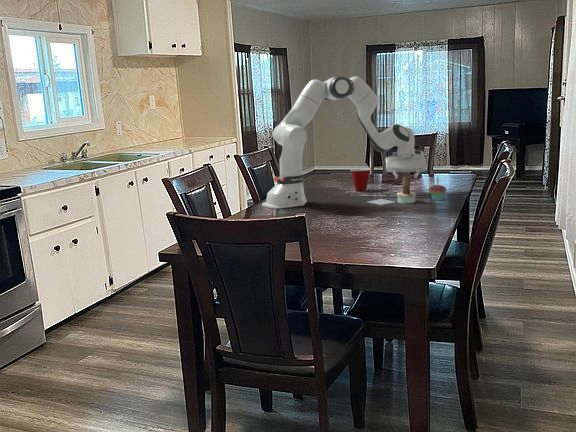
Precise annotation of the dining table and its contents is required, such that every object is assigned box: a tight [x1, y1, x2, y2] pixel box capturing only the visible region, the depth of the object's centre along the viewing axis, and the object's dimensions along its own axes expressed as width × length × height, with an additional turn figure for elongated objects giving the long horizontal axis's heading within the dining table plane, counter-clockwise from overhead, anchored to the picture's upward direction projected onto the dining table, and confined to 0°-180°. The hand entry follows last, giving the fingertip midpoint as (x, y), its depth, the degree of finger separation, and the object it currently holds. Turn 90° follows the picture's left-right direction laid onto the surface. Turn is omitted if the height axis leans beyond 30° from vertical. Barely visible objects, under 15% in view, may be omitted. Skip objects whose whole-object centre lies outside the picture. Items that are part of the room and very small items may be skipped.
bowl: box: [397, 196, 416, 204], centre depth 275 cm, size 8×8×4 cm
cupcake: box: [428, 176, 448, 201], centre depth 277 cm, size 9×8×12 cm
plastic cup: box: [350, 168, 371, 192], centre depth 308 cm, size 11×11×12 cm
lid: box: [396, 176, 417, 197], centre depth 273 cm, size 9×9×9 cm
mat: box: [367, 198, 396, 206], centre depth 277 cm, size 10×10×1 cm
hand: (406, 177), depth 285 cm, fingers open, 8 cm apart
